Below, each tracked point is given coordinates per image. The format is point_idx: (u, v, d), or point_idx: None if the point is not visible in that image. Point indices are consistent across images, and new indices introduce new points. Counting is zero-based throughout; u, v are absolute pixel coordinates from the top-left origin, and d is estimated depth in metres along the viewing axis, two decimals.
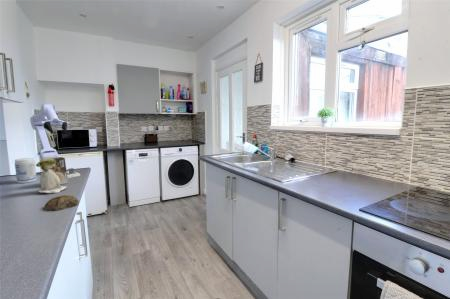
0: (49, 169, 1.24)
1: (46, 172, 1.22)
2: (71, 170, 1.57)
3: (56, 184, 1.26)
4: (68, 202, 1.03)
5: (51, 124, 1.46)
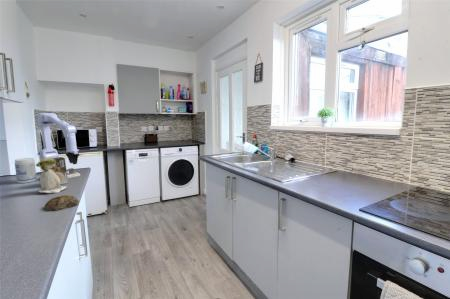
0: (49, 169, 1.24)
1: (46, 172, 1.22)
2: (71, 170, 1.57)
3: (56, 184, 1.26)
4: (68, 202, 1.03)
5: None
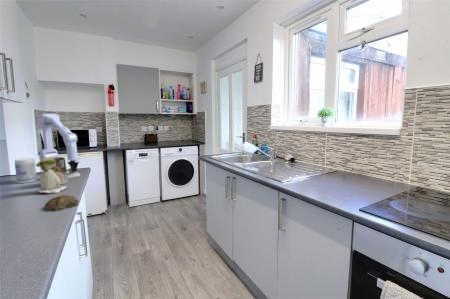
0: (49, 169, 1.24)
1: (46, 172, 1.22)
2: (71, 170, 1.57)
3: (56, 184, 1.26)
4: (68, 202, 1.03)
5: None
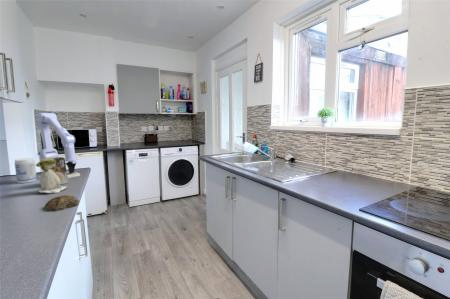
0: (49, 169, 1.24)
1: (46, 172, 1.22)
2: None
3: (56, 184, 1.26)
4: (69, 202, 1.03)
5: None
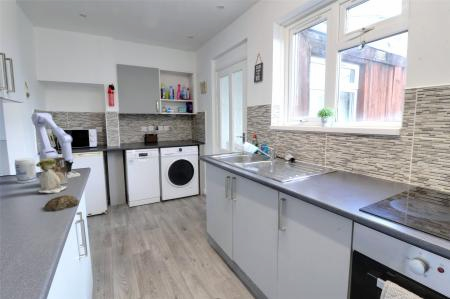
0: (49, 169, 1.24)
1: (46, 172, 1.22)
2: None
3: (56, 184, 1.26)
4: (69, 202, 1.03)
5: None
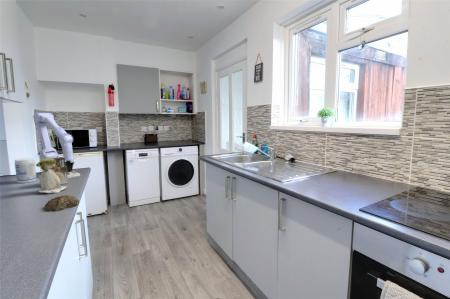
0: (49, 169, 1.24)
1: (46, 172, 1.22)
2: None
3: (56, 184, 1.26)
4: (69, 202, 1.02)
5: None
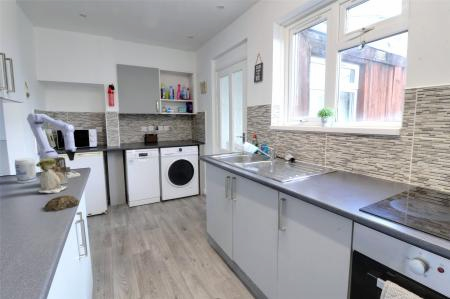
0: (49, 169, 1.24)
1: (46, 172, 1.22)
2: (67, 169, 1.61)
3: (56, 184, 1.26)
4: (69, 202, 1.02)
5: None
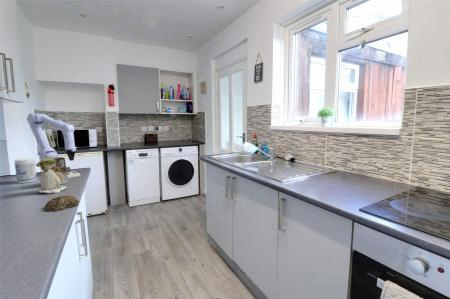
0: (49, 169, 1.24)
1: (46, 172, 1.22)
2: (67, 169, 1.61)
3: (56, 184, 1.26)
4: (69, 203, 1.02)
5: (71, 150, 1.59)
